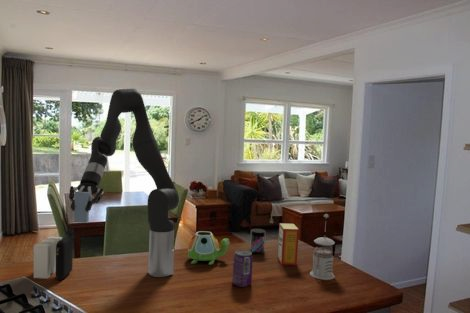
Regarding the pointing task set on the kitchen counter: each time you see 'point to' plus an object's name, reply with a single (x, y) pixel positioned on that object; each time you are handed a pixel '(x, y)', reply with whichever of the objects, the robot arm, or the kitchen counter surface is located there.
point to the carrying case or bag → (64, 257)
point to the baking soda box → (288, 244)
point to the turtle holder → (206, 247)
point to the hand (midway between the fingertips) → (79, 210)
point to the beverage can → (242, 268)
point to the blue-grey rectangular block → (81, 207)
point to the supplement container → (257, 241)
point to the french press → (323, 259)
